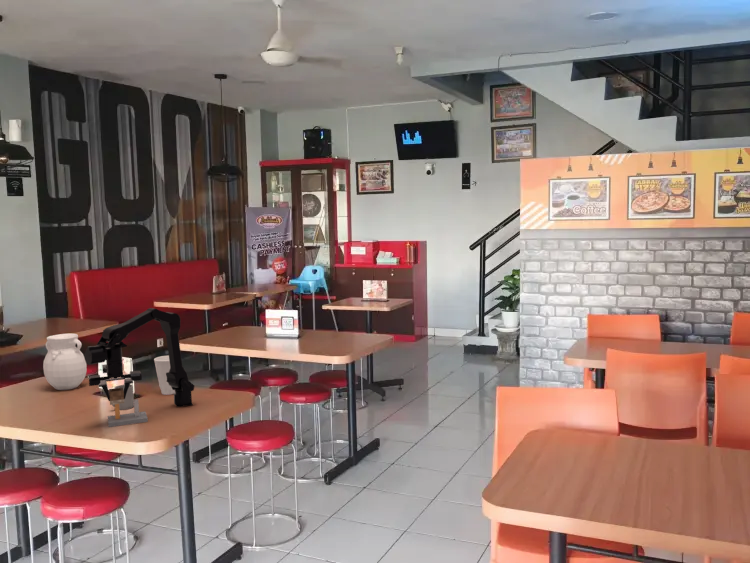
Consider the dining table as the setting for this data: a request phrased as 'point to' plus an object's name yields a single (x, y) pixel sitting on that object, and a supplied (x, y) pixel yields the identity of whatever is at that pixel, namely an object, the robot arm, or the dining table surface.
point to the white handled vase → (64, 361)
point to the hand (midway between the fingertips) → (116, 399)
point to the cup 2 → (163, 374)
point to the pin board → (127, 416)
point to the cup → (127, 398)
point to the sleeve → (116, 396)
